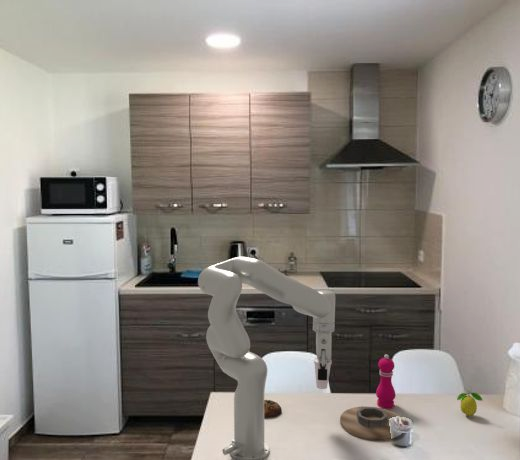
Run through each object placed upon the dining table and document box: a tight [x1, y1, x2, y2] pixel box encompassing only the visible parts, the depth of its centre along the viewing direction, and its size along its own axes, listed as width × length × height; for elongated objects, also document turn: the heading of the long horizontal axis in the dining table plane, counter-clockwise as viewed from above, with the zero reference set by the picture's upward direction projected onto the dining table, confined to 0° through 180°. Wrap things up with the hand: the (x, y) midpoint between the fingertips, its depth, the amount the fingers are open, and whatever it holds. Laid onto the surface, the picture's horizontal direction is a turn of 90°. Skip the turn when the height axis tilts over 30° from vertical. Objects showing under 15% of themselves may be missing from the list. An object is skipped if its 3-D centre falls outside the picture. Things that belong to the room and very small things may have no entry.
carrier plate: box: [339, 406, 399, 441], centre depth 171 cm, size 22×22×4 cm
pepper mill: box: [375, 353, 396, 410], centre depth 185 cm, size 7×7×20 cm
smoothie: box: [313, 357, 333, 390], centre depth 171 cm, size 6×6×14 cm
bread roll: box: [264, 399, 282, 418], centre depth 181 cm, size 11×11×5 cm
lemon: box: [456, 391, 483, 417], centre depth 177 cm, size 7×6×10 cm
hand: (322, 376), depth 171 cm, fingers closed on smoothie, 5 cm apart
